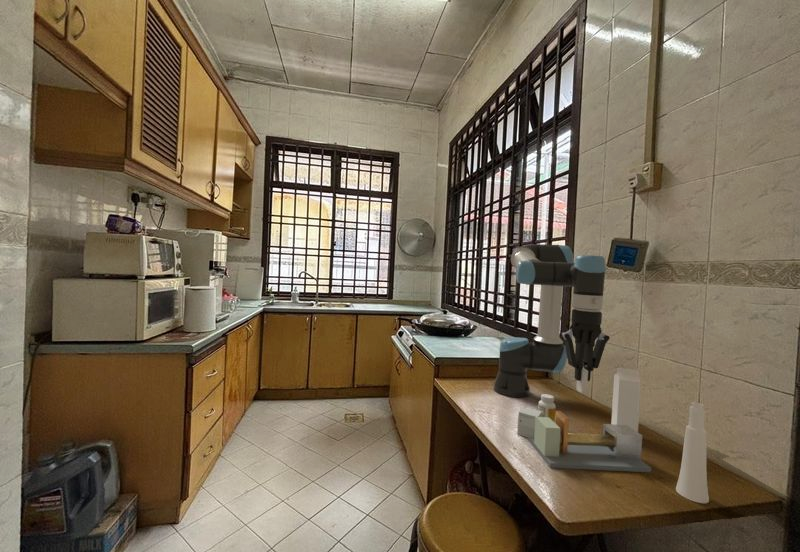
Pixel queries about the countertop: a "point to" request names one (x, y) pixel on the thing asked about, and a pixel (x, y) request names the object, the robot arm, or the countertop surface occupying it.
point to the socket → (547, 436)
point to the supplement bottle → (547, 406)
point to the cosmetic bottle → (694, 458)
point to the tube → (579, 436)
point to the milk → (626, 398)
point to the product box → (527, 421)
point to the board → (591, 459)
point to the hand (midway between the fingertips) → (581, 391)
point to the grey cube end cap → (624, 442)
